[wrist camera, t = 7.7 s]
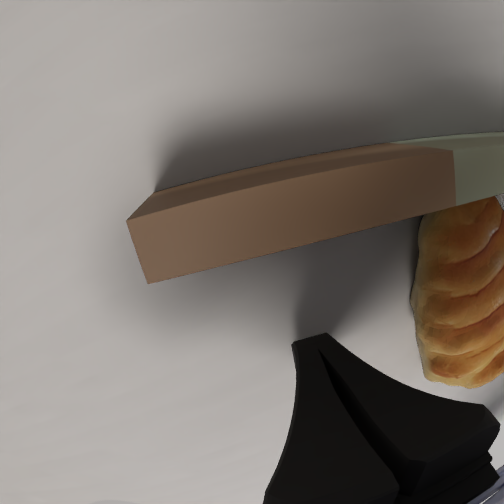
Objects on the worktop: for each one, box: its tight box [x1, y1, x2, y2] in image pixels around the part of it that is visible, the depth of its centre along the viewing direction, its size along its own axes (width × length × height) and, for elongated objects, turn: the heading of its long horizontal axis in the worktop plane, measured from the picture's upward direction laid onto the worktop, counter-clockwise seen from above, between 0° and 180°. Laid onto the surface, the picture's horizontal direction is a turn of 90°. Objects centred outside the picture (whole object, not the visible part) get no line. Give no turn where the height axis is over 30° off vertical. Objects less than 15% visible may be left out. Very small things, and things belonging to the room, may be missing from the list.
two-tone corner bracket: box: [126, 132, 504, 284], centre depth 11 cm, size 14×20×4 cm
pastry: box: [410, 196, 504, 389], centre depth 11 cm, size 9×7×4 cm
